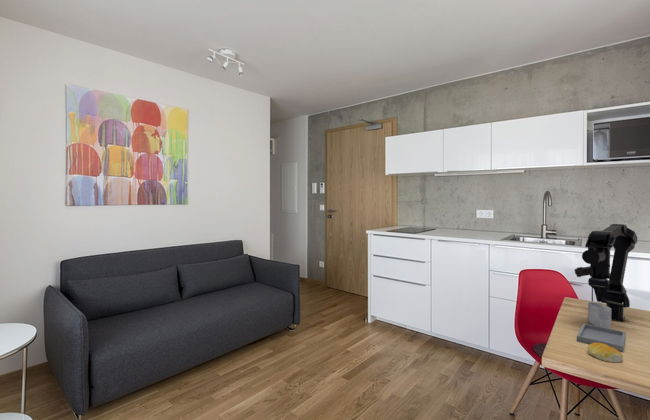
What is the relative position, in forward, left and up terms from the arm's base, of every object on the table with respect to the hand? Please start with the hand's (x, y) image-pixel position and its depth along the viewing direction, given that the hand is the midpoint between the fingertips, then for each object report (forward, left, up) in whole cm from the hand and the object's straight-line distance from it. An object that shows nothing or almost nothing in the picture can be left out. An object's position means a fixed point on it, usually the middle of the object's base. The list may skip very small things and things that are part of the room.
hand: (599, 299), depth 136 cm
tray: (+17, +2, -11) cm, 20 cm away
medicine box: (0, 0, -11) cm, 11 cm away
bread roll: (+34, +4, -12) cm, 36 cm away
